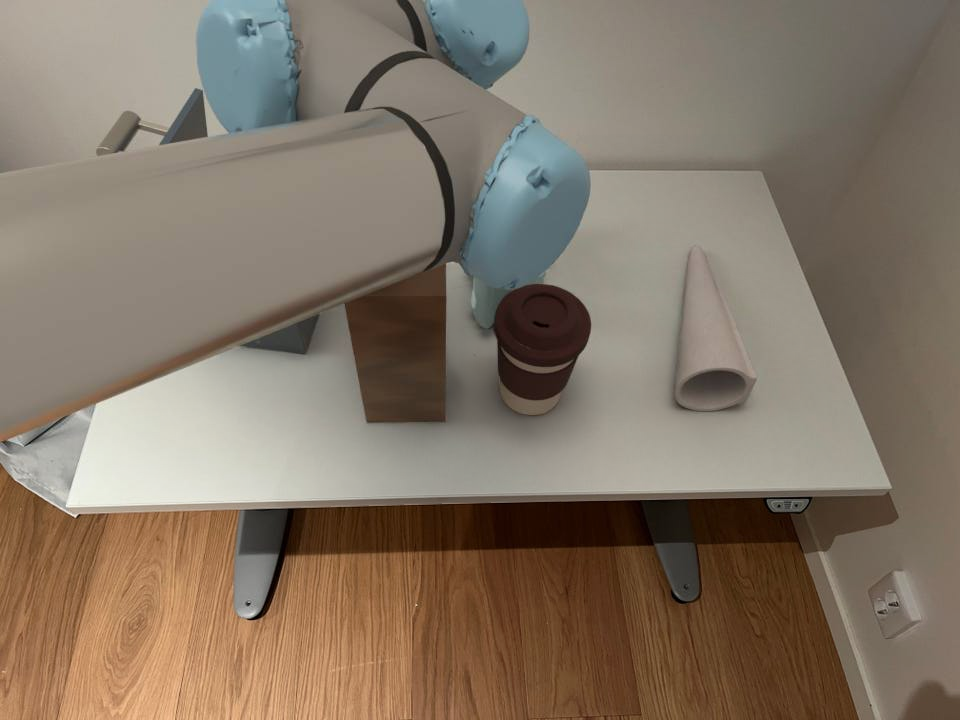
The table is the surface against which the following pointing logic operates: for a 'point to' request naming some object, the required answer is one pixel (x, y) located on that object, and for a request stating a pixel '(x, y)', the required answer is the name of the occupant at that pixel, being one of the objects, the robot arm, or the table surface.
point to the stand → (402, 349)
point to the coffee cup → (538, 345)
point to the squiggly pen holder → (490, 300)
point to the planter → (709, 345)
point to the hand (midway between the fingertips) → (254, 186)
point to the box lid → (158, 127)
